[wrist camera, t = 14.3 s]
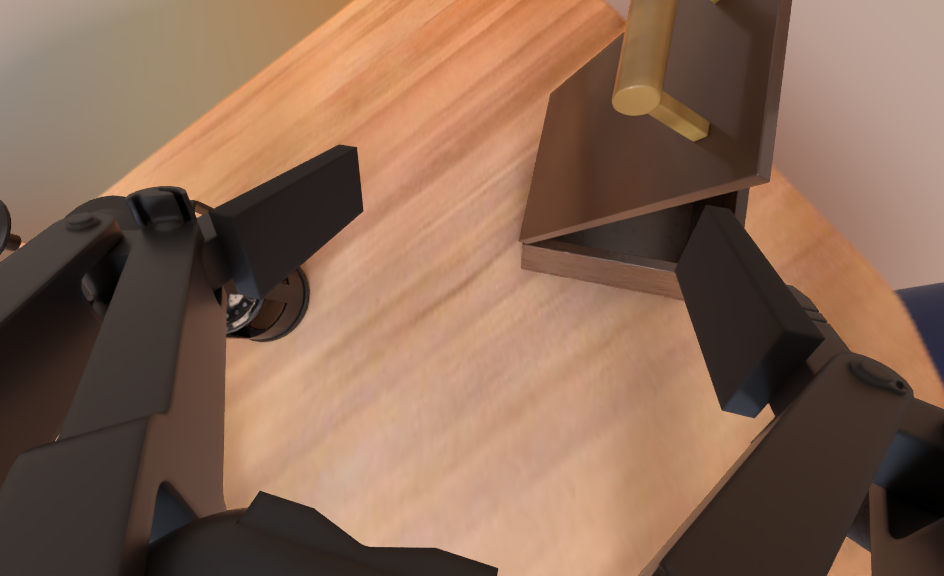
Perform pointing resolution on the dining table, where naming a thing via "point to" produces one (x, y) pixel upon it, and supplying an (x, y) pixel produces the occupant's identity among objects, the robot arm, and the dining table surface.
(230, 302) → the french press
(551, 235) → the chest door
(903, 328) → the dining table surface
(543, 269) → the chest
